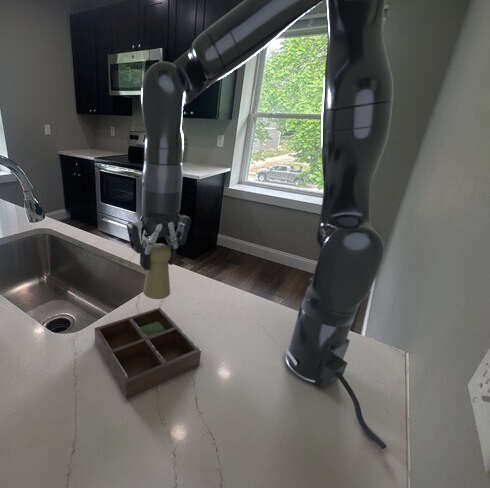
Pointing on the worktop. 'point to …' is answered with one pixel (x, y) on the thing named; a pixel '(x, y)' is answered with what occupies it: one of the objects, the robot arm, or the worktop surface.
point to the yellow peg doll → (158, 273)
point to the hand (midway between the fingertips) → (158, 265)
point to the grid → (145, 351)
